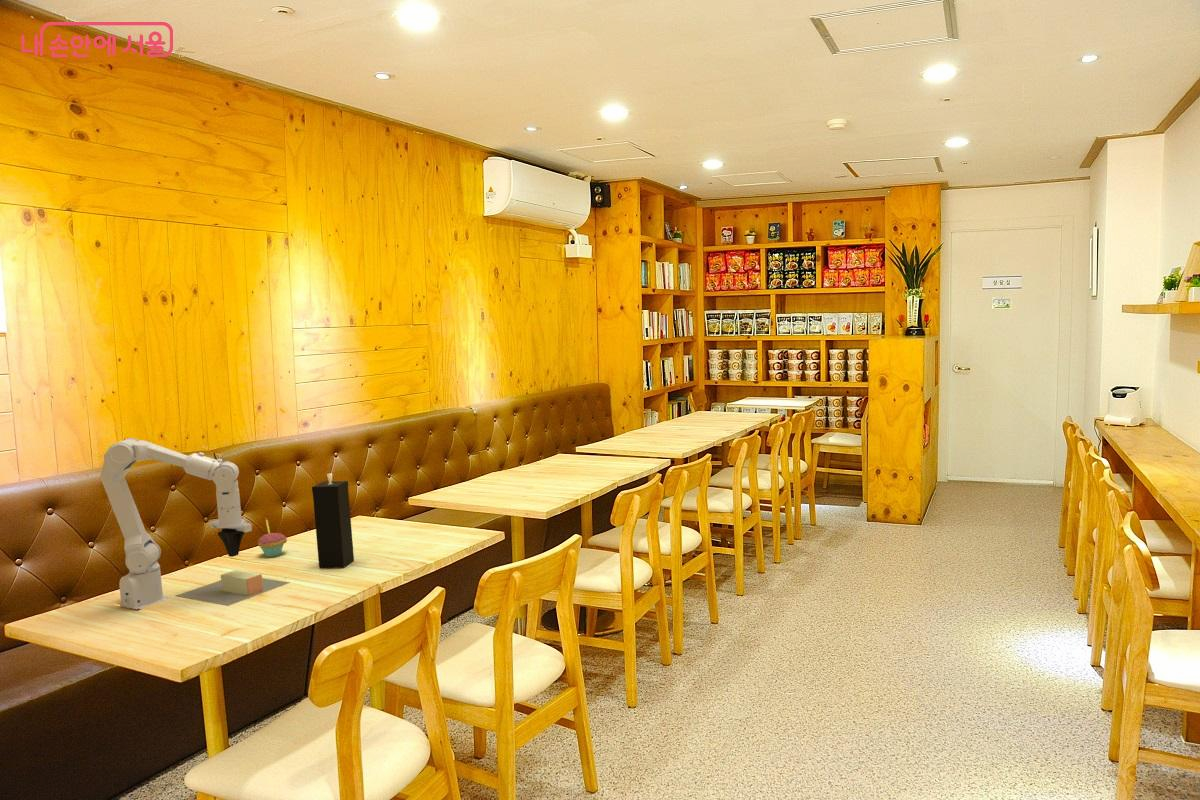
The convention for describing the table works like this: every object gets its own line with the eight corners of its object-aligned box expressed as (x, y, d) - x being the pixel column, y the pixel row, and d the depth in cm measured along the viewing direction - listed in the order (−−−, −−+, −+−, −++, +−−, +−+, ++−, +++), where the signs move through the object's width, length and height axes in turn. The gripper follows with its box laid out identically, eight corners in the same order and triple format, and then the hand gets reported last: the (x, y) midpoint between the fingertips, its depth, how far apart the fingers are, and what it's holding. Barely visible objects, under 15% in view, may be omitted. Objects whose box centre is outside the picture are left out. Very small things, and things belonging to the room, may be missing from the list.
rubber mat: (228, 608, 214) (228, 605, 214) (174, 597, 225) (174, 595, 225) (290, 584, 231) (290, 582, 231) (238, 576, 242) (238, 574, 242)
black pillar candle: (354, 560, 252) (347, 470, 250) (344, 568, 245) (336, 475, 242) (329, 561, 253) (322, 471, 250) (318, 568, 245) (310, 475, 243)
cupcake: (253, 557, 262) (249, 520, 261) (274, 550, 269) (271, 514, 268) (272, 559, 258) (268, 522, 257) (293, 552, 265) (290, 515, 264)
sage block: (222, 590, 227) (249, 595, 221) (220, 574, 226) (247, 579, 221) (236, 585, 231) (263, 590, 225) (234, 570, 230) (261, 574, 225)
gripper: (259, 505, 225) (263, 554, 226) (224, 501, 232) (228, 549, 233) (237, 511, 219) (241, 561, 220) (201, 507, 226) (206, 556, 227)
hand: (233, 555), depth 226 cm, fingers closed
